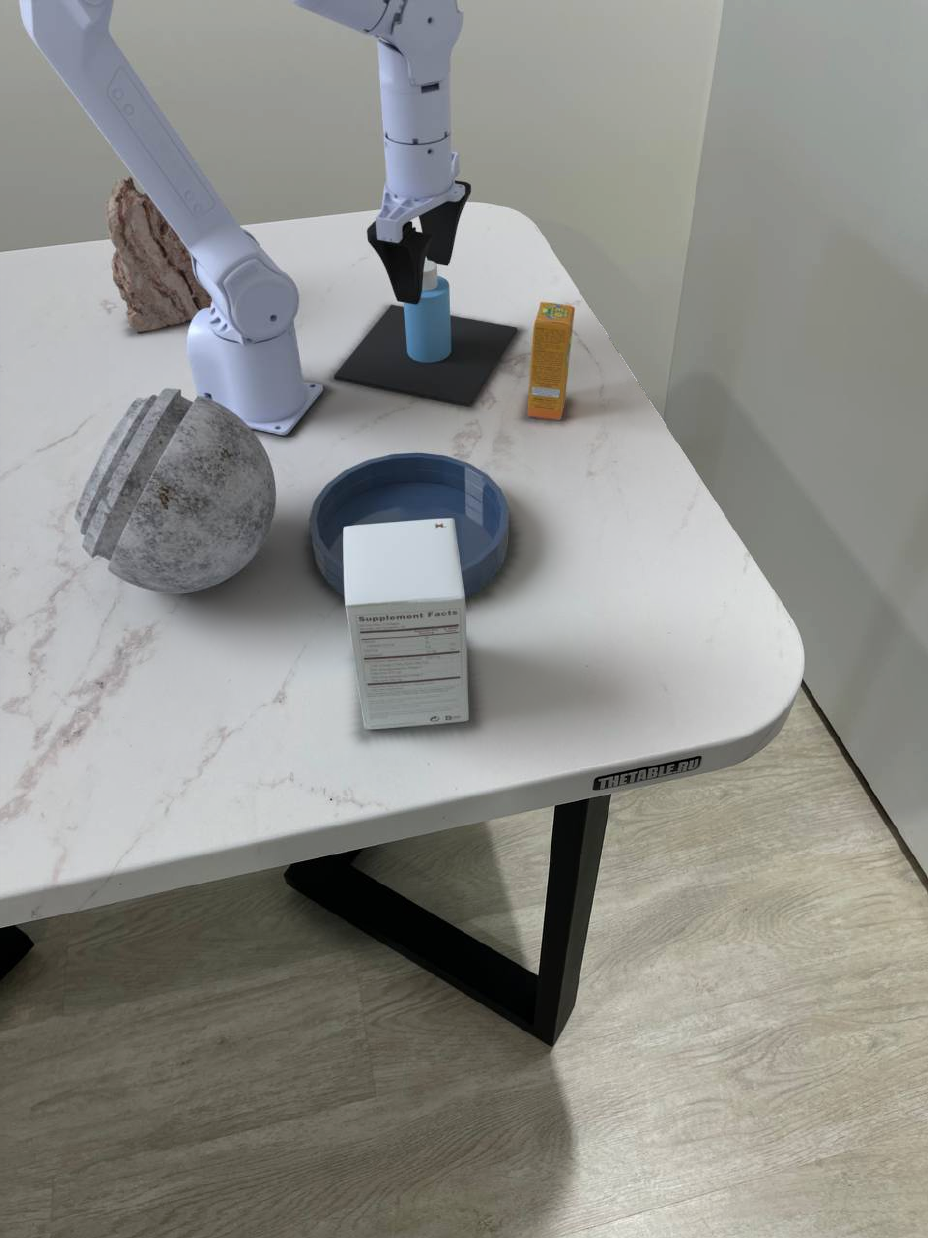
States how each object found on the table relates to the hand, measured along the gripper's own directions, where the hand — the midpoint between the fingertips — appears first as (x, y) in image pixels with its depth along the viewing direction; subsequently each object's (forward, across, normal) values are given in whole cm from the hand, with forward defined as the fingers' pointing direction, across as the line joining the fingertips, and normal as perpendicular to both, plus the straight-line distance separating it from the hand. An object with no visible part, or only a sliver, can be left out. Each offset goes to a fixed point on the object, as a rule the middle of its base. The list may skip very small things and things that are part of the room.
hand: (424, 281), depth 95 cm
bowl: (+8, -26, -9) cm, 29 cm away
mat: (+8, 0, 0) cm, 8 cm away
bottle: (+7, 0, 0) cm, 7 cm away
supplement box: (+8, -5, -14) cm, 17 cm away
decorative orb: (+8, -34, +6) cm, 36 cm away
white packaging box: (+8, -40, -15) cm, 43 cm away
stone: (+8, -1, +29) cm, 30 cm away
